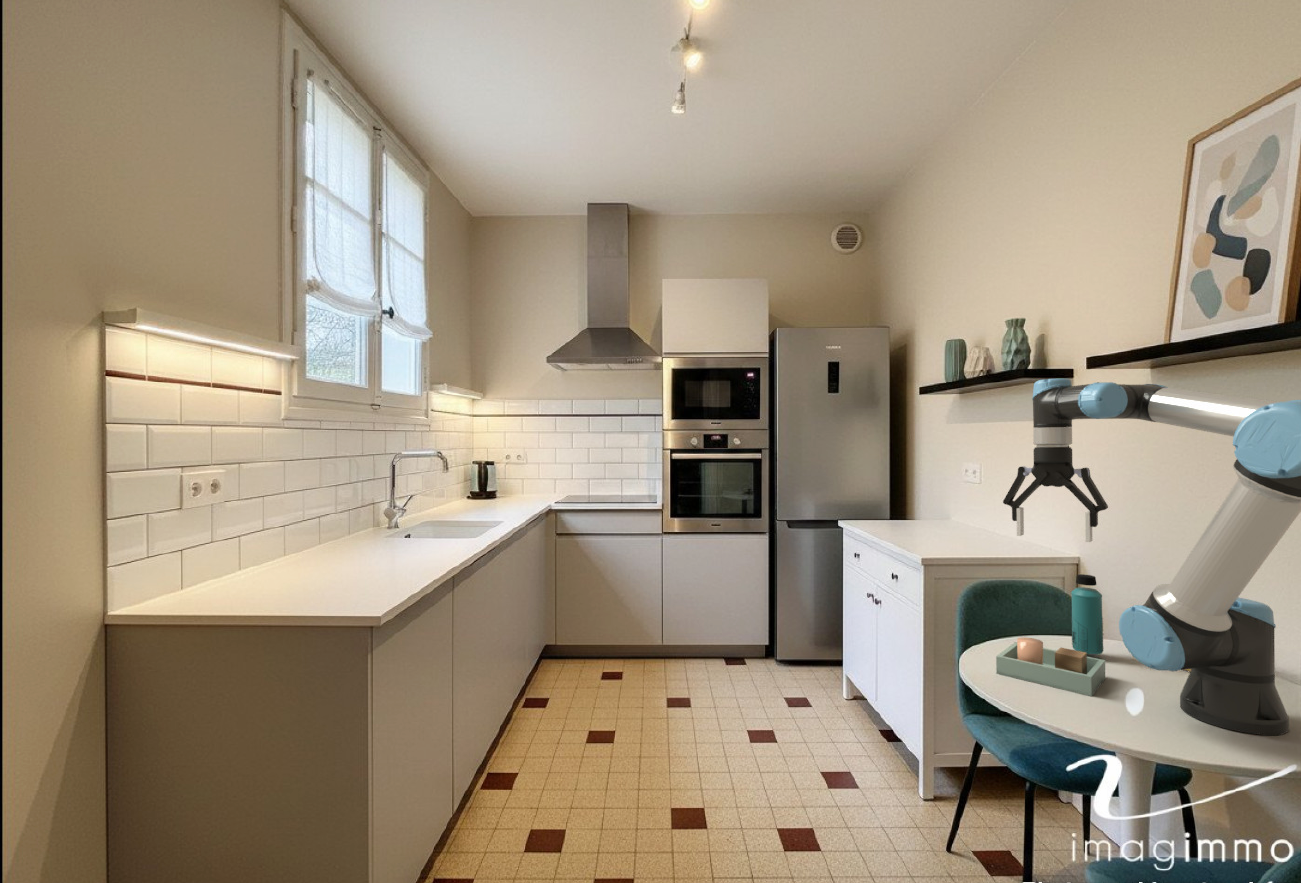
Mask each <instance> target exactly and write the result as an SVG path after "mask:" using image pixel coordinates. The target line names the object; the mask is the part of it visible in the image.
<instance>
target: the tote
mask: <svg viewBox="0 0 1301 883" xmlns="http://www.w3.org/2000/svg"><path fill="white" fill-rule="evenodd" d="M1057 650H1058V649H1057ZM1057 650H1056V649H1051V648H1046V647H1043V665H1041V664H1036V663H1032V662H1027V661H1022V660H1018V659H1017V641H1016V642H1013V643H1012V644H1010V645H1009V646H1008V647H1007V648H1005V649H1004V650H1003V651H1001V652H999V654H997V655H996V656H995V658H996V660H995V661H996V663H995V664H996V669H995V671H996V674H997V675H1000V676H1005V677H1008V678H1009V677H1010V678H1014V679H1018V680H1022V681H1026V682H1029V683H1034V684H1038V685H1042V686H1047V687H1050V688H1055V689H1059V690H1063V691H1067V692H1070V693H1075V694H1080V695H1084V696H1088V697H1092V696H1093V695H1094V694H1095V692H1097V690H1098V688H1099V687H1100V686H1101V685H1102V683H1103V682H1104V681H1105V679H1106V660H1105V659H1101V658H1095V657H1091V656H1087V675H1086V674H1082V673H1077V672H1073V671H1068V670H1063V669H1059V668H1055V652H1056V651H1057Z"/></svg>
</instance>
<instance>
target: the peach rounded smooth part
mask: <svg viewBox="0 0 1301 883" xmlns="http://www.w3.org/2000/svg"><path fill="white" fill-rule="evenodd" d="M1016 642H1017V659H1018V660H1022V661H1027V662H1032V663H1036V664H1041V665H1043V648H1044V642H1043V641H1042V640H1041V639H1036V638H1032V637H1027V636H1026V637H1021V636H1020V637H1018V638H1017V639H1016Z"/></svg>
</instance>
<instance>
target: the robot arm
mask: <svg viewBox="0 0 1301 883" xmlns="http://www.w3.org/2000/svg"><path fill="white" fill-rule="evenodd" d="M1031 399H1032V414H1033V415H1032V416H1033V418H1032V420H1033V421H1032V422H1033V428H1032V429H1033V435H1032V436H1033V439H1032V440H1033V445H1035V446H1036V447H1035V446H1034V448H1033V465H1032V467H1027V466H1024V465H1023V466H1018V468H1017V474H1016V477H1015V479H1014V481H1013V482H1012V484H1011V487H1010V488H1009V489H1008V492H1006V495H1005V497H1004V499H1003V500H1002V503H1003V504H1004V505H1007V506H1009V507H1011V519H1012V521H1013V522H1016V536H1019V537H1021V536H1023V535H1024V533H1025V530H1024V529H1025V528H1024V527H1025V526H1024V525H1025V523H1024V521H1025V520H1024V518H1025V517H1024V513H1025V512H1024V510H1025V508H1024V507H1021V505H1022V504H1023V503H1025V501H1026V500H1028V498H1029V497H1030V496H1032V494H1033V493H1034V492H1035V491H1036V490H1038V488H1040V487H1041V486H1044V487H1054V488H1055V487H1056V488H1060V487H1061V488H1062V487H1065V488H1066V490H1067V489H1068V490H1069V492H1071V493H1072V494H1073V495H1074V497H1076V499H1077V500H1078V501H1080V503H1081V504H1082V505H1083V506H1084V507H1085V508H1086V509H1087V510H1088V511H1086V512H1085V515H1084V516H1085V517H1084V518H1085V519H1084V520H1085V526H1084V527H1085V542H1086V543H1091V542H1092V541H1093V528H1096V527H1097V526H1098V525H1099V519H1098V518H1099V512H1102V511H1105V510H1107V509H1109V505H1108V504H1107V502H1106V499H1104V497H1103V495H1102V494H1101V491H1100V490H1099V489H1098V487H1097V484H1095V482H1094V480H1093V479H1092V477H1091V471H1090V468H1089V467H1082V468H1074V466H1073V448H1072V447H1071V445H1072V444H1073V420H1074V421H1075V420H1108V419H1109V420H1112V419H1113V420H1116V419H1117V420H1119V419H1120V420H1122V419H1123V420H1124V419H1126V420H1128V419H1129V420H1142V421H1145V422H1146V421H1147V422H1151V423H1152V422H1153V423H1159V424H1165V425H1170V426H1176V427H1182V428H1186V429H1193V430H1198V431H1201V432H1202V431H1203V432H1207V433H1212V434H1218V435H1224V436H1228V437H1232V446H1233V447H1235V448H1234V449H1235V450H1234V452H1233V453H1234V456H1235V458H1236V460H1235V461H1234V462H1233V465H1232V468H1233V470H1234V472H1235V474H1236V475H1237V477H1238V479H1237V480H1236V481H1235V483H1234V485H1233V486H1232V488H1230V489H1231V490H1230V491H1229V493H1228V494H1227V496H1226V497H1225V499H1224V500H1223V502H1222V503H1221V505H1220V506H1219V508H1218V510H1217V511H1216V513H1215V514H1214V515H1213V517H1212V518H1211V520H1210V521H1209V524H1207V526H1206V527H1205V530H1204V531H1203V533H1202V534H1201V535H1200V537H1199V538H1198V540H1197V542H1196V544H1195V545H1194V546H1193V548H1192V550H1191V551H1190V553H1189V554H1188V556H1187V557H1186V559H1185V560H1184V562H1183V564H1182V565H1181V566H1180V568H1179V569H1178V571H1177V573H1176V574H1175V575H1174V576H1173V579H1172V580H1171V582H1170V583H1163V584H1159V585H1156V586H1155V588H1154V589H1153V590H1152V592H1151V594H1149V597H1148V598H1147V600H1146V601H1145V602H1144V603H1143V604H1142V605H1140V604H1137V605H1136V604H1134V605H1132V606H1130V607H1128V608H1126V609H1125V610H1123V612H1122V613H1121V615H1120V617H1119V622H1118V630H1119V635H1121V636H1120V637H1121V638H1122V642H1123V644H1124V646H1125V648H1126V649H1127V651H1128V653H1130V655H1131V656H1132V657H1133V658H1134V659H1135V660H1136V661H1137V662H1139V663H1141V664H1142V665H1144V666H1145V667H1148V668H1150V669H1152V670H1155V671H1169V672H1176V671H1180V670H1182V671H1184V670H1183V669H1191V672H1189V674H1188V676H1187V678H1186V682H1185V683H1184V685H1183V688H1182V690H1181V692H1180V696H1179V704H1180V705H1179V706H1180V708H1181V710H1182V711H1183V712H1184V713H1186V714H1187V715H1189V716H1190V717H1192V718H1195V719H1197V720H1199V721H1201V722H1204V723H1206V724H1209V725H1213V726H1215V727H1220V728H1222V729H1223V728H1224V729H1226V730H1230V731H1235V732H1240V733H1246V734H1253V735H1260V736H1261V735H1262V736H1279V735H1280V736H1281V735H1283V734H1286V733H1288V732H1289V730H1290V726H1289V725H1290V724H1289V722H1290V721H1289V719H1290V718H1289V715H1288V713H1287V710H1286V708H1285V705H1284V703H1283V701H1282V699H1281V697H1280V694H1279V692H1278V690H1277V687H1276V683H1275V678H1276V677H1275V675H1276V674H1275V672H1276V671H1275V670H1276V668H1275V667H1276V665H1275V662H1276V661H1275V659H1276V658H1275V629H1276V628H1277V627H1276V624H1275V619H1274V611H1273V609H1272V608H1271V607H1270V606H1269V605H1268V604H1265V603H1263V602H1260V601H1257V600H1252V599H1248V598H1243V597H1239V596H1240V595H1241V594H1242V592H1244V589H1245V588H1246V587H1247V585H1248V584H1249V583H1250V582H1251V580H1252V579H1253V577H1254V576H1255V574H1256V573H1257V572H1258V571H1259V569H1260V568H1261V567H1262V565H1264V562H1265V561H1266V560H1267V559H1268V557H1269V556H1270V554H1271V553H1272V552H1273V550H1274V549H1275V548H1276V546H1277V545H1278V543H1279V542H1280V540H1281V539H1282V538H1283V537H1284V535H1285V534H1286V533H1287V531H1288V529H1289V528H1290V527H1291V526H1292V525H1293V523H1294V522H1295V520H1296V519H1297V518H1298V516H1299V514H1301V399H1293V400H1286V401H1277V400H1269V399H1261V398H1255V397H1254V398H1253V397H1245V396H1240V395H1239V396H1236V395H1229V394H1222V393H1221V394H1220V393H1212V392H1207V391H1206V392H1205V391H1199V390H1198V391H1197V390H1190V389H1183V388H1175V387H1168V386H1166V385H1161V384H1154V383H1144V384H1124V383H1123V384H1121V383H1120V384H1119V383H1118V384H1117V383H1116V382H1112V381H1110V382H1109V381H1108V382H1101V381H1100V382H1092V383H1089V384H1088V383H1086V384H1080V385H1072V380H1071V379H1069V378H1048V379H1039V380H1037V381H1035V382H1034V384H1033V390H1032V398H1031ZM1030 474H1032V476H1033V477H1034V478H1035V479H1034V480H1033V481H1032V482H1031V483H1030V485H1029V486H1028V487H1027V488H1026V489H1024V491H1023V492H1022V493H1021V494H1020V495H1019V496H1018V497H1017V498H1016V499H1015V500H1014V498H1015V497H1016V495H1017V493H1018V491H1019V490H1020V488H1021V486H1022V485H1023V483H1024V481H1025V479H1026V478H1027V477H1028V476H1030ZM1074 475H1077V476H1078V478H1081V480H1082V482H1083V484H1084V485H1085V487H1086V489H1087V490H1088V492H1089V493H1090V495H1091V497H1092V499H1093V500H1094V502H1095V503H1096V504H1095V503H1094V502H1093V501H1092V500H1091V499H1090V498H1089V497H1088V496H1087V495H1086V494H1085V493H1084V492H1083V491H1082V490H1081V489H1080V488H1079V487H1078V486H1077V485H1076V483H1075V482H1074V481H1073V480H1072V478H1073V477H1074Z"/></svg>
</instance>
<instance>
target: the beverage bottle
mask: <svg viewBox="0 0 1301 883" xmlns="http://www.w3.org/2000/svg"><path fill="white" fill-rule="evenodd" d="M1075 584H1078V585H1082V586H1089V587H1082V586H1081V587H1075V588H1074V589H1073V590H1071V592H1070V593H1071V634H1070V635H1071V645H1072V648H1073V649H1072V650H1076V651H1081V652H1086V653H1087V655H1102V654H1103V652H1104V633H1103V632H1104V621H1103V620H1104V618H1103V595H1102V593H1101V592H1100V591H1098V590H1097V589H1095V588H1091V587H1090V586H1094V587H1095V586H1097V579H1096V576H1095V575H1092V574H1083V573H1081V574H1077V575H1076V580H1075Z"/></svg>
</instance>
